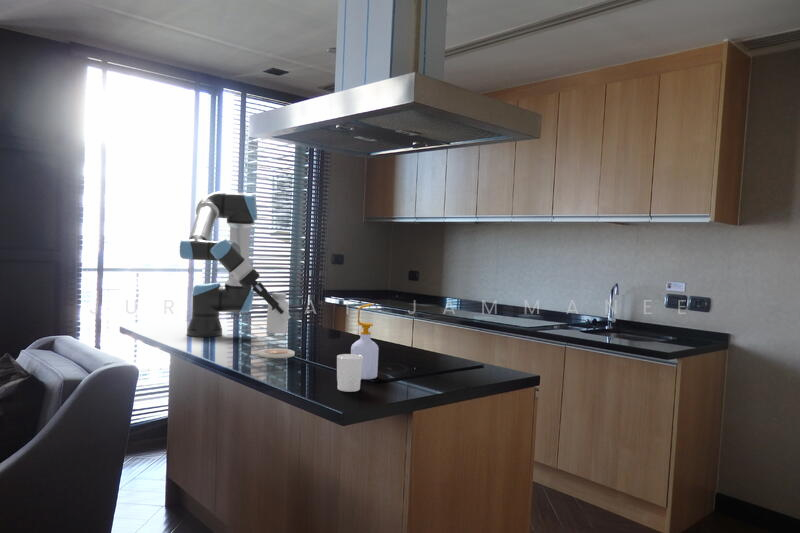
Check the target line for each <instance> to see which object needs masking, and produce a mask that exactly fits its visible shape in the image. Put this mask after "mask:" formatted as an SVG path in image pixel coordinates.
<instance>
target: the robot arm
mask: <svg viewBox="0 0 800 533" xmlns="http://www.w3.org/2000/svg"><path fill="white" fill-rule="evenodd" d="M256 200H257V199H256V197H255V195H254V194H252V193H247V192H235V191H233V192H231V191H230V192H229V191H215V192H212V193H210V194H208V195H206V196H205V197H203V198H202V199H201V200H200V201H199V202H198V204H197V205H196V209H195V213H196V214H195V215H196V217H195V219H194V223H193V226H192V229H191V232H190V234H189V237H188V238H187V239H182V240H180V243H179V256H180V258H181V259H183V260H193V261H194V260H195V261H196V260H198V261H216V262H217V261H218V262H219V263H220V265H222V266H223V267H224V268H225V270H226V271H228V278H227V280H226V281H225V282H224V285H223V286H222V285H221V283H220V282H210V283H200V284H196V285H194V286H193V289H192V295H191V296H192V303H191V304H192V305H191V306H192V308H191V319H190V321H189V324H188V327H187V329H186V335H187V336H190V337H196V338H197V337H200V338H209V337H210V338H211V337H220V336H222V335H223V327H222V324H221V320H220V313H239V314H241V313H250V311H251V310H252V306H253V301H254V295H255V293H256V294H257V295H258V296H259V297H260V298H263V299H264V301H265V302H267V304H268V303H269V304H270V305H271V306H272V310H275V311H276V312H277V313H278V314H279V315H280V316H281V317H282V318H283V319H284V320H285V321H287V320H288V321H289V320H290V319H291V317H292V316H291V315H290V314H289V313H287V312H286V311H285V310H284V309H283V308H282V307H281V306H280V305H279V303H278V302H276V301H275V300H274V299H273V297H272V294H270V293H269V292H268V290H267V289H266V287H265V286H264V284H263V283H262V282H261V281H259V282H258V281H257V280H258V278H260V273H259V272H258V271H257V270H256V269H255V268H253V266H252V265H251V264H250V243H251V242H250V239H251V238H250V237H251V227H252V226H253V225H254V223H255V221H257V220H258V208H257V207H258V206H257V201H256ZM218 219H226V223H227V224H228V226H229V240H227V239H226V238H222V239H220V240H219V241H218V240H210V239H211V236H212V234H213V233H212V232H213V229H214V225H215V222H216V221H217V220H218Z"/></svg>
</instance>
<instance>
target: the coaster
mask: <svg viewBox="0 0 800 533" xmlns="http://www.w3.org/2000/svg"><path fill="white" fill-rule="evenodd" d="M295 353H296V351H294V350H292V349H288V348H287V349H286V348H262V349H259V350H257V356H258V357H260V358H265V359H266V358H267V359H289V358H293V357H295Z"/></svg>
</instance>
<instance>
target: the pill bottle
mask: <svg viewBox="0 0 800 533" xmlns="http://www.w3.org/2000/svg"><path fill="white" fill-rule="evenodd" d="M271 296H272V297H273V299H274V300H275V301H276V302H278V303H279V305H280V306H281V307H282V308H283V309H284V310H285V311H286V312H287V313H288V314H289V310H290V303H289V301H288V300H287V294H286V293H284V292H272V294H271ZM266 312H267V315H266V316H267V317H266V332H267V333H269V334H285V333H288V330H289V329H288V328H289V327H288V326H289V319H288V320H287V321H285V320H284V319H283V318H282V317H281V316H280V315H279V314H278V313H277V312H276V311H275V310H272V306H271V305H270V304H269V303H267V311H266Z"/></svg>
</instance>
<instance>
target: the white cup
mask: <svg viewBox="0 0 800 533" xmlns="http://www.w3.org/2000/svg"><path fill="white" fill-rule="evenodd" d="M362 365H363V356H361V355H355V354H351V353H342V354H338V355H336V381H337V390H339V391H341V392H346V393H347V392H348V393H349V392H350V393H351V392H358V391H360V389H361V380H362V379H361V375H362Z"/></svg>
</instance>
